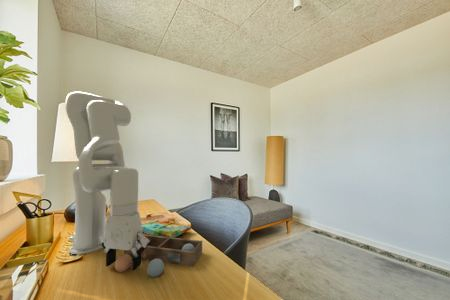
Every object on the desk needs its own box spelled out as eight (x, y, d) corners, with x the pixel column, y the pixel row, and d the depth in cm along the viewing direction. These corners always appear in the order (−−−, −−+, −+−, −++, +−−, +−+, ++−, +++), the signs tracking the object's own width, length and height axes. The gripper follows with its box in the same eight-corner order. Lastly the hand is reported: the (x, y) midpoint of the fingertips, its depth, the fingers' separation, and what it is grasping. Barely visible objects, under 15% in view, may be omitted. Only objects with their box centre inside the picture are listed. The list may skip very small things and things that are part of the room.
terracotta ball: (110, 274, 54) (111, 258, 54) (122, 264, 58) (122, 250, 58) (124, 276, 53) (124, 260, 53) (135, 266, 57) (135, 252, 57)
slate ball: (143, 279, 51) (143, 263, 51) (153, 269, 56) (153, 254, 56) (158, 282, 50) (158, 265, 50) (166, 271, 55) (166, 256, 55)
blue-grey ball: (178, 261, 59) (179, 246, 59) (184, 253, 64) (184, 240, 64) (192, 262, 58) (192, 248, 58) (197, 255, 63) (197, 241, 63)
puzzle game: (160, 216, 91) (190, 224, 80) (160, 225, 91) (190, 235, 80) (139, 224, 81) (170, 234, 70) (139, 234, 81) (170, 246, 70)
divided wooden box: (123, 258, 61) (123, 244, 62) (139, 246, 70) (139, 234, 70) (193, 268, 56) (193, 253, 56) (202, 254, 64) (202, 240, 64)
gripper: (89, 210, 54) (88, 269, 53) (141, 214, 50) (140, 278, 50) (110, 203, 61) (109, 255, 61) (156, 206, 58) (156, 262, 57)
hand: (123, 265), depth 55 cm, fingers open, 8 cm apart
